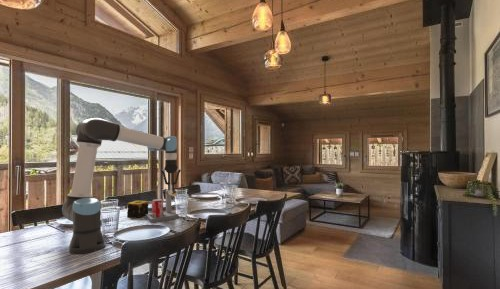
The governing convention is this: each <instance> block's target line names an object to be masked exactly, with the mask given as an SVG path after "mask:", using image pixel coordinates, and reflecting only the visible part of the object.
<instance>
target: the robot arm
mask: <svg viewBox="0 0 500 289" xmlns="http://www.w3.org/2000/svg"><path fill="white" fill-rule="evenodd" d="M75 134H76V136H77V137H76V144H77V145H78V150H77V156H76V162H75V169H74V174H73V179H72V186H71V191H70V192H69V193H68V194H67V195H66V201H65V202H64V203H63V205H62V208H61V211H62V212H61V213H62V215H63V216H64V217H65V219H67V220H68V221H70V222H72V236H71V240H70V241H69V242H70V243H69V246H68V252H69V253H70V254H75V255H81V254H88V253H89V254H90V253H94V252H95V251H97V252H98V251H99V250H101V249H102V248H104V247H105V246H106V241H105V237H104V235H103V232H102V226H101V225H102V224H101V222H102V219H101V217H102V216H101V214H102V212H101V209H102V206H101V205H102V204H101V202H100V200H99V199H97V198H94V196H93V194H92V193H91V190H92V184H93V179H94V177H93V176H94V171H95V166H96V159H97V154H98V148H100V147H101V146H102V142H103V141H110V142H116V141H119V142H124V143H128V144H133V145H137V146H144V147H146V148H147V150H148V151H151V152H157V151H158V152H164V157H165V158H164V159H165V162H164V168H163V169H161V170H160V171H161V173H162V176H163V180H164V183H165V185H166V186H167V190H170V195H171V196H172V191H175V185H176V184H177V183H178V179H179V175H180V173H181V168H178V160H177V159H178V150H177V149H178V142H177V141H178V139H177V136H173V135H170V136H168V135H167V136H165V137H163V136H159V135H156V134H151V133H148V132H144V131H139V130H137V129H136V130H135V129H133V128H129V127H128V128H127V127H124V126H122V125H120V123H118V122H117V123H116V122H114V121H111V120H107V119H103V118H99V117H95V118H94V117H93V118H88V119H87V118H86V119H84V120H82V121H80V122H79V123H78V124H77V125H76V128H75ZM165 172H166V173H167V176H166V173H165ZM176 172H177V173H176ZM175 173H176V176H175Z"/></svg>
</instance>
